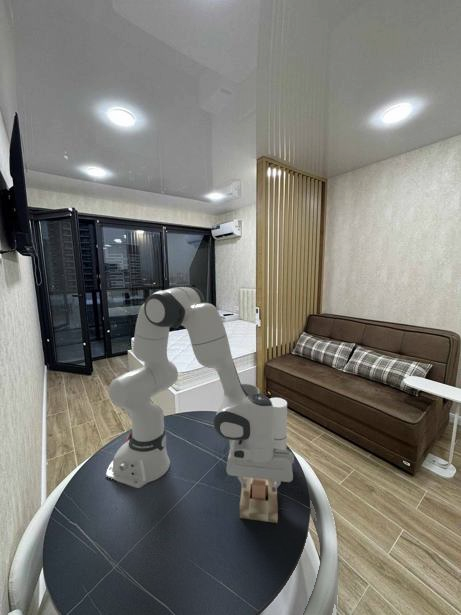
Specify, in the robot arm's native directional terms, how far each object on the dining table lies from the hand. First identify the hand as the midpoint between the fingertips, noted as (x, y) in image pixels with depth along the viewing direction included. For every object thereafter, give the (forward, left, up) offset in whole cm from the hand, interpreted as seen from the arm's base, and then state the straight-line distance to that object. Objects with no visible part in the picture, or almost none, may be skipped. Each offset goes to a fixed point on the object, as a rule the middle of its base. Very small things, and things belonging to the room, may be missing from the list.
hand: (259, 488), depth 75 cm
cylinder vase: (-7, +25, -5) cm, 27 cm away
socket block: (0, 0, -5) cm, 5 cm away
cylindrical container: (+6, +17, -5) cm, 19 cm away
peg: (0, 0, -5) cm, 5 cm away
